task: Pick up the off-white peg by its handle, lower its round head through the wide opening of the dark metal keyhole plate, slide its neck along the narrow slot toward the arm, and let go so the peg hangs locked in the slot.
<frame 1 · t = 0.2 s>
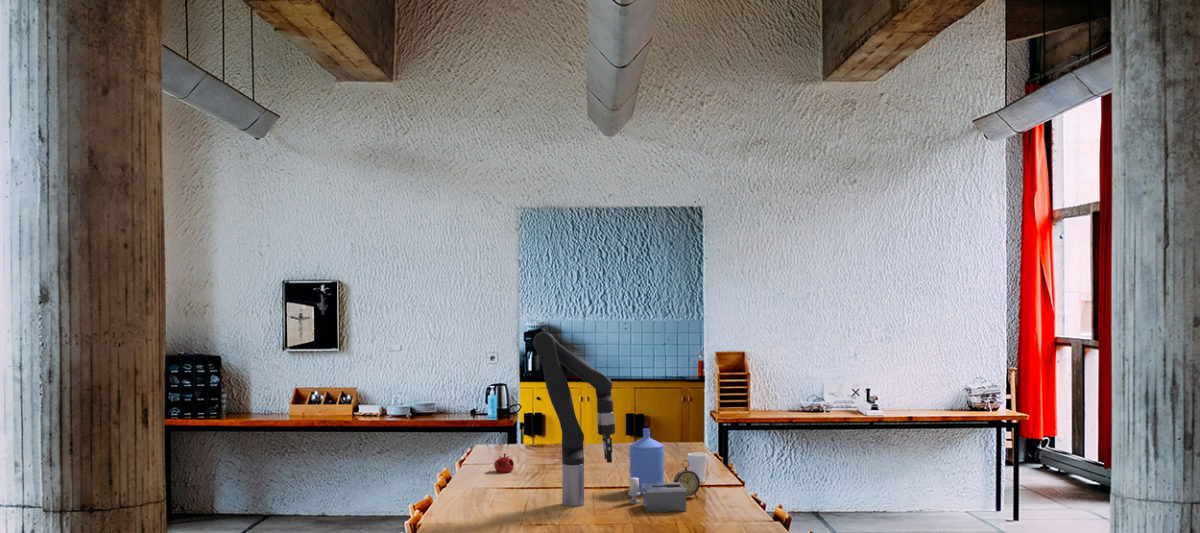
hand: (608, 460, 387), 18 cm above the table, tool pointing down, fingers open, 8 cm apart
alarm clock: (686, 498, 396), on the table
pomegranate: (504, 472, 460), on the table
keyhole stand: (664, 507, 377), on the table
water jug: (647, 491, 411), on the table
peg: (634, 502, 387), on the table
foam cup: (698, 482, 430), on the table
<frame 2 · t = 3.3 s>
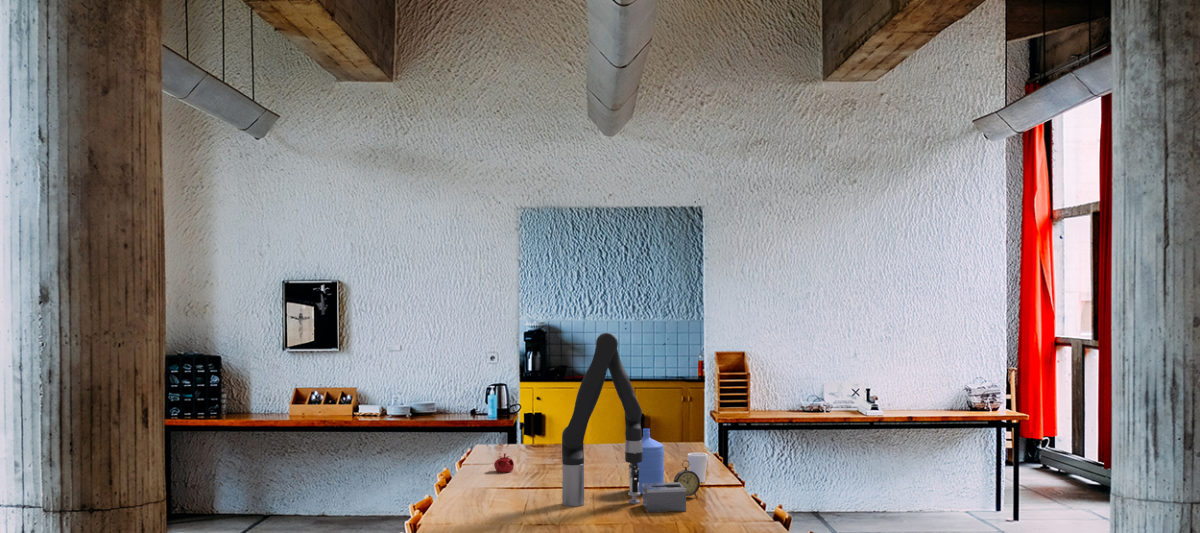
hand: (634, 490, 387), 5 cm above the table, tool pointing down, fingers closed on peg, 4 cm apart
peg: (634, 502, 387), on the table, touching gripper
everything else where it was.
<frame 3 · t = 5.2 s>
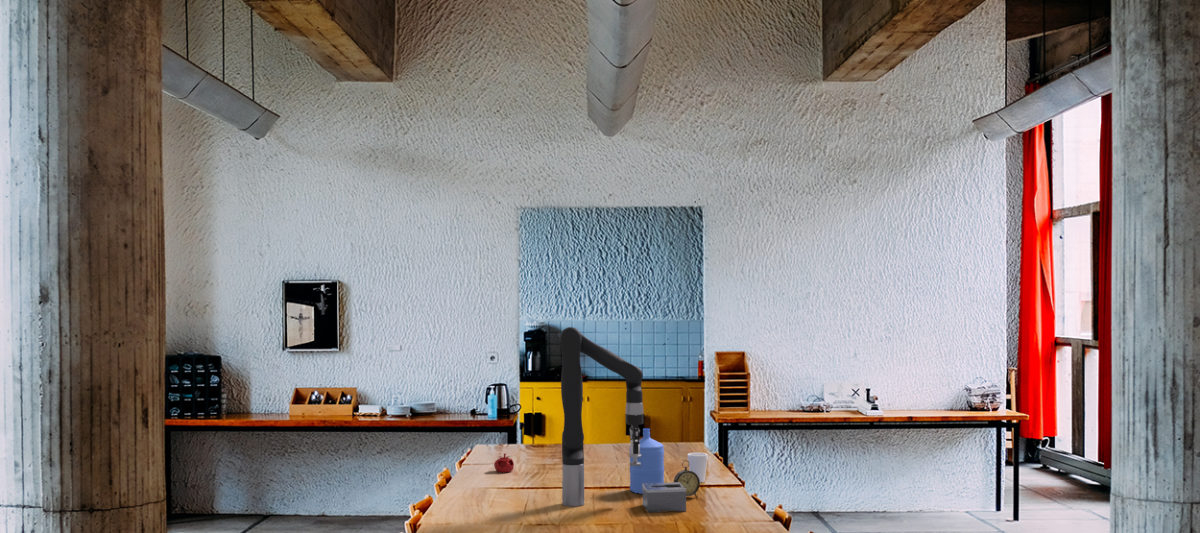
hand: (635, 452, 387), 21 cm above the table, tool pointing down, fingers closed on peg, 4 cm apart
peg: (635, 465, 387), point 16 cm above the table, touching gripper
everything else where it was.
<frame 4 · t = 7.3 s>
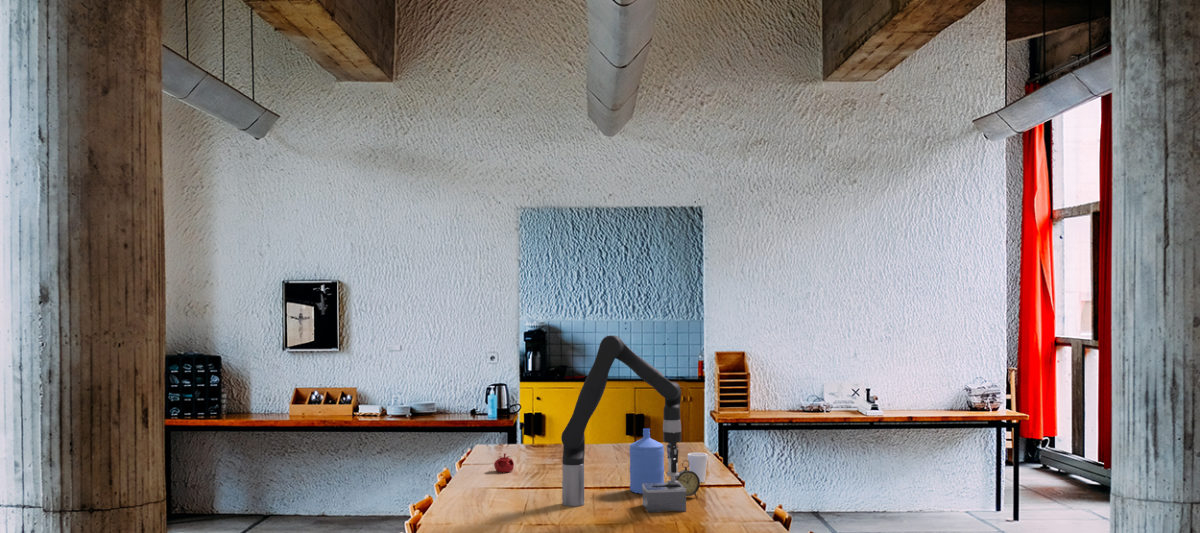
hand: (672, 471, 378), 15 cm above the table, tool pointing down, fingers closed on peg, 4 cm apart
peg: (673, 483, 378), point 10 cm above the table, touching gripper
everything else where it was.
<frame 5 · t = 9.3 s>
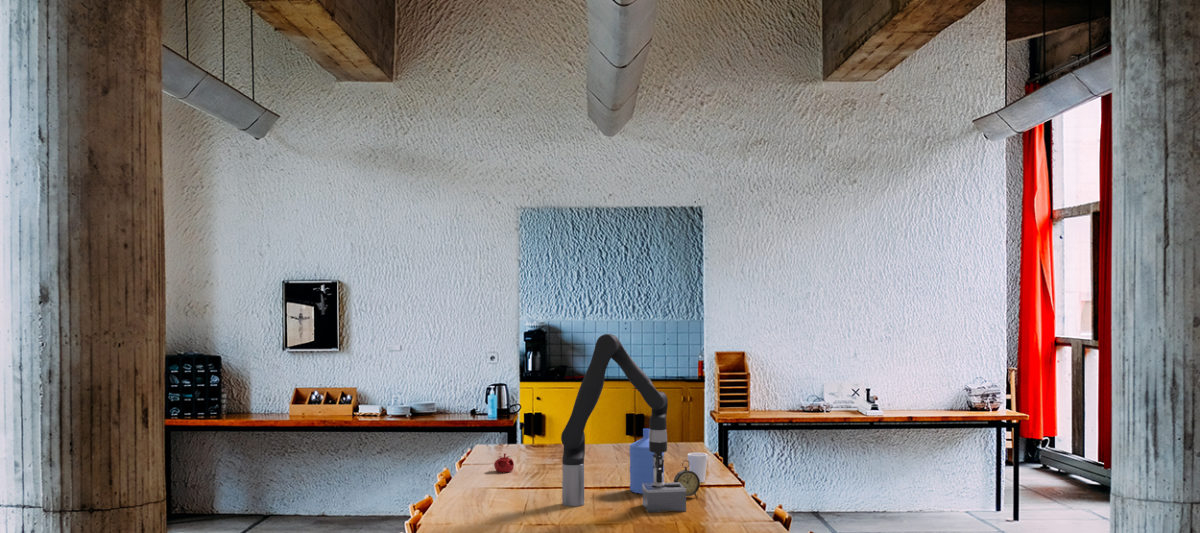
hand: (658, 481, 377), 11 cm above the table, tool pointing down, fingers closed on peg, 4 cm apart
peg: (658, 493, 377), point 6 cm above the table, touching gripper
everything else where it was.
when the fingers open (11 cm above the table, at t = 11.1 s): peg stays where it is, resting on keyhole stand.
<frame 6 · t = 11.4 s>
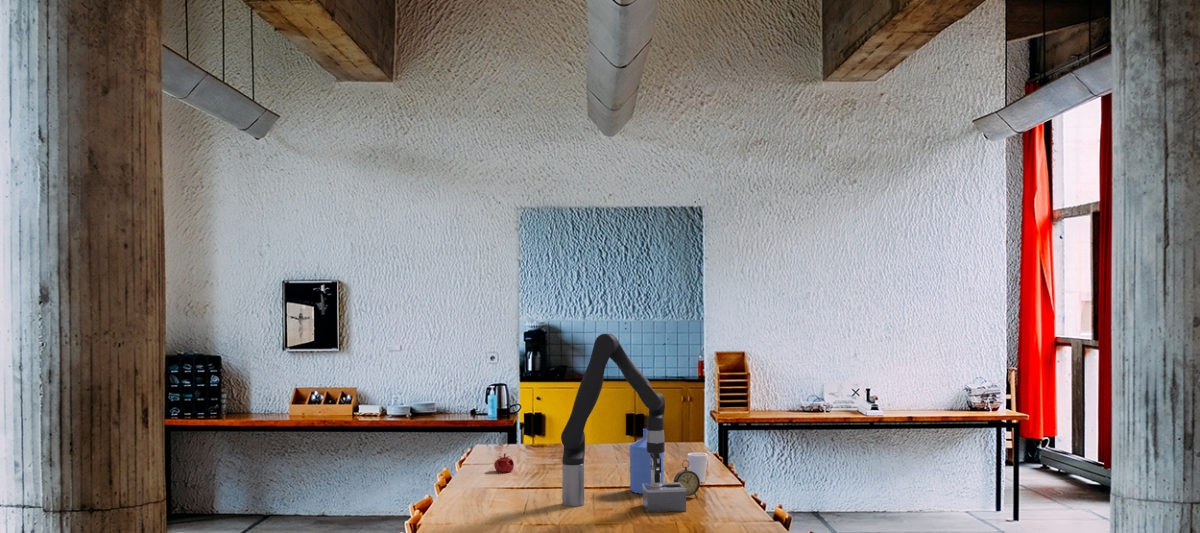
hand: (655, 480, 377), 11 cm above the table, tool pointing down, fingers open, 6 cm apart
peg: (656, 495, 377), point 5 cm above the table, touching keyhole stand
everything else where it was.
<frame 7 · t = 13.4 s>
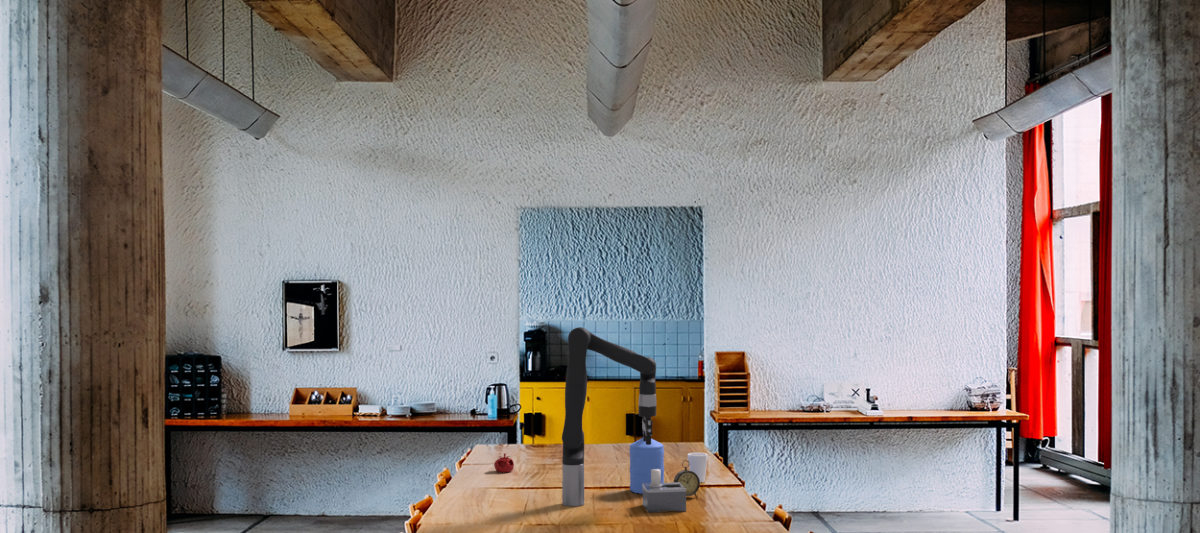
hand: (647, 443, 384), 26 cm above the table, tool pointing down, fingers open, 8 cm apart
nothing on the table moved.
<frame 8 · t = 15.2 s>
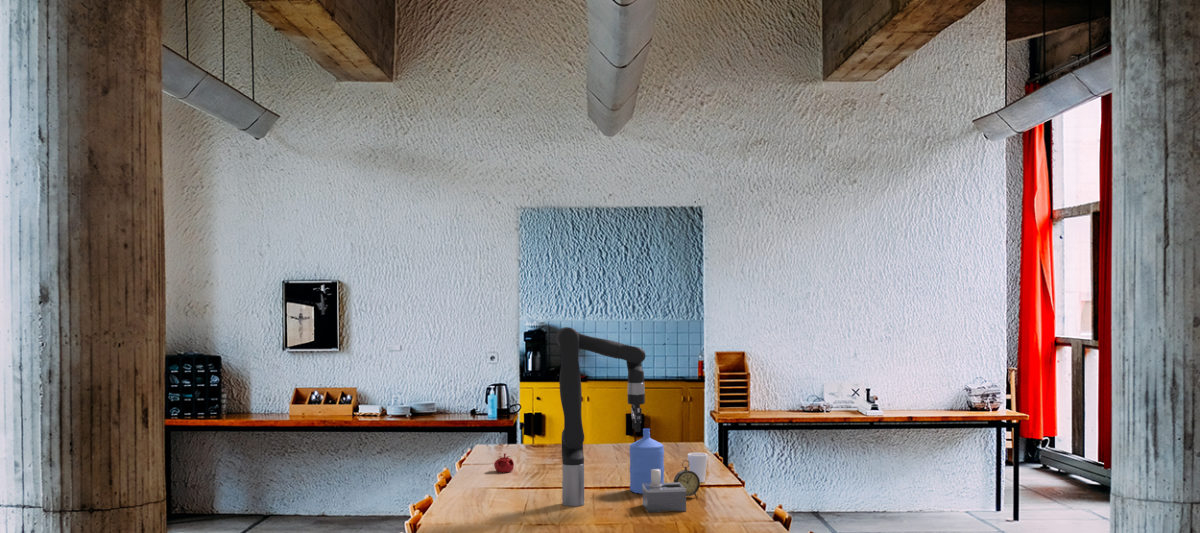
hand: (636, 430, 393), 30 cm above the table, tool pointing down, fingers open, 8 cm apart
nothing on the table moved.
at the end: peg 0.2 cm from the target spot on the keyhole stand, point 5.4 cm above the keyhole stand's base; peg tilted 0°; the gripper is holding nothing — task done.
